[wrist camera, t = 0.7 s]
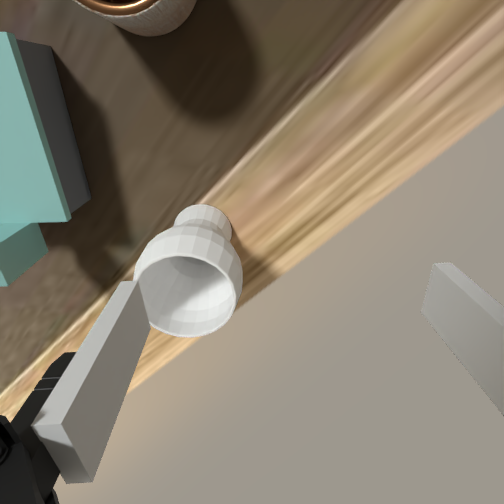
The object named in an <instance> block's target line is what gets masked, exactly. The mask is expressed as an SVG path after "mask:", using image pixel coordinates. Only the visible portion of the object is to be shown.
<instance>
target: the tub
mask: <svg viewBox="0 0 504 504" xmlns="http://www.w3.org/2000/svg"><path fill="white" fill-rule="evenodd" d="M16 41H17V45H18V48H19V51H20V54H21V57H22V61H23V64H24V67H25V70H26V73H27V77H28V80H29V83H30V86H31V89H32V93H33V96H34V99H35V102H36V105H37V109H38V112H39V115H40V118H41V122H42V125H43V128H44V131H45V134H46V138H47V141H48V144H49V147H50V150H51V154H52V157H53V160H54V163H55V166H56V170H57V173H58V176H59V179H60V182H61V186H62V189H63V192H64V195H65V198H66V202H67V205H68V208H69V211H70V214H71V213H73V212H74V211H75V210H77V209H78V208H79V207H81V206H82V205H83V204H85V203H86V202H87V201H89V200H90V199H91V194H90V190H89V187H88V183H87V179H86V175H85V172H84V168H83V164H82V161H81V157H80V153H79V150H78V146H77V142H76V139H75V135H74V131H73V127H72V124H71V120H70V116H69V113H68V109H67V105H66V102H65V98H64V94H63V91H62V87H61V83H60V79H59V76H58V72H57V68H56V65H55V61H54V57H53V54H52V50H51V46H47V45H42V44H37V43H32V42H28V41H23V40H18V39H16Z"/></svg>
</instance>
